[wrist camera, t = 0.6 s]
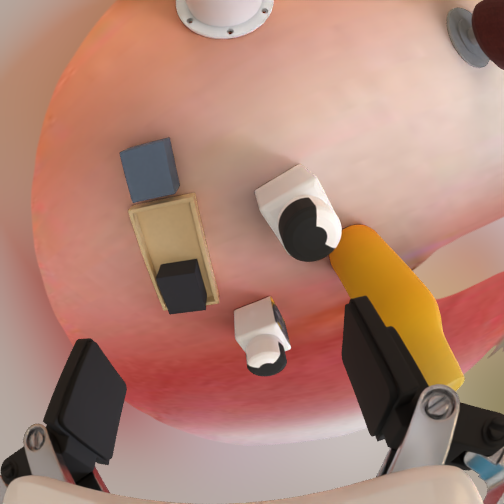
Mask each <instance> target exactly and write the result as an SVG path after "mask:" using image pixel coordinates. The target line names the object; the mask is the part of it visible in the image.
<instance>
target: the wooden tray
mask: <svg viewBox="0 0 504 504" xmlns="http://www.w3.org/2000/svg"><path fill="white" fill-rule="evenodd" d="M128 213H129V216H130V219H131V222H132V226H133V229H134V232H135V235H136V238H137V241H138V244H139V247H140V250H141V252H142V255H143V258H144V261H145V264H146V266H147V269H148V272H149V275H150V277H151V280H152V283H153V285H154V288H155V290H156V293H157V295H158V298H159V300H160V303H161V305H162V308H163V310H168V309H167V307H166V304H165V302H164V299H163V296H162V294H161V291H160V289H159V286H158V283H157V281H156V276H157V274H158V271H159V268H160V265H161V264H166V263H172V262H179V261H185V260H191V259H197V260H198V264H199V267H200V271H201V275H202V278H203V282H204V285H205V289H206V292H207V301H206V305H212V304H219V292H218V288H217V284H216V280H215V277H214V273H213V269H212V264H211V260H210V256H209V252H208V248H207V244H206V240H205V235H204V231H203V227H202V222H201V218H200V214H199V209H198V205H197V200H196V196H195V193H190V194H184V195H179V196H174V197H169V198H165V199H160V200H155V201H151V202H146V203H142V204H137V205H133V206H132V207H131V208H130V209H129V210H128Z"/></svg>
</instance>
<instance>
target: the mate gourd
mask: <svg viewBox="0 0 504 504" xmlns="http://www.w3.org/2000/svg"><path fill="white" fill-rule="evenodd" d="M447 30H448V33H449V36H450V39H451V41H452V43H453V45H454V47H455V49H456V51H457V52H458V54H459V55H460V56H461V57H462V58H463V59H464V60H465V61H466V62H467V63H468V64H469V65H471V66H473V67H477V68H481V67H484V66H486V65H487V64H488V62H489V60H491V61H493V62H494V63H495V64H496V65H497V66H498V67H499V68H501V69H503V70H504V0H483V1H481V2H479V3H478V4H477V5H476V6H475V8H474V11H473V14H471V13H470V12H469V11H467V10H465V9H463V8H454V9H452V10H450V11H449V13H448V15H447Z"/></svg>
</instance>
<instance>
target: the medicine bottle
mask: <svg viewBox="0 0 504 504" xmlns="http://www.w3.org/2000/svg"><path fill="white" fill-rule="evenodd" d="M234 325H235V339H236V341H237V342H238V343H239V345H240V346H241V347H242V349H243V350H244V351H245V352H246V358H247V368H248V370H249V371H250V372H252V373H253V374H255V375H258V376H271V375H275V374H277V373H279V372H280V371H282V370H283V369H284V367H285V366H286V364H287V359H286V355H285V351H287V350H290V349H291V346H290V341H289V337H288V333H287V329H286V325H285V321H284V319H283V318H282V316H281V314H280V312H279V310H278V308H277V306H276V305H275V303H274V301H273V299H272V297H270V296H269V297H267V298H264V299H262V300H259V301H257V302H254V303H252V304H249V305H247V306H244V307H241V308H239V309H236V310H234Z"/></svg>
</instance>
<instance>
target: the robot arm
mask: <svg viewBox="0 0 504 504" xmlns="http://www.w3.org/2000/svg"><path fill="white" fill-rule="evenodd" d="M273 3H274V0H176V9H177V13H178V15H179V17H180V19H181V21H182V22H183V23H184V25H185V26H187V27H188V28H189V29H190V30H192V31H193V32H195V33H197V34H199V35H202V36H205V37H209V38H214V39H229V38H236V37H240V36H243V35H246V34H248V33H251V32H252V31H254V30H255V29H257V28H259V27H260V26H261V25H262V24H263V23H264V22H265V21H266V19H267V18H268V17H269V15H270V13H271V11H272V8H273ZM263 11H264V12H266V13H262V12H263ZM190 21H192V23H189V22H190ZM229 32H232V34H228V33H229ZM342 360H343V363H344V366H345V368H346V371H347V374H348V376H349V379H350V381H351V384H352V387H353V389H354V392H355V395H356V397H357V400H358V403H359V406H360V408H361V411H362V414H363V417H364V419H365V422H366V425H367V428H368V431H369V433H370V435H371V436H376V439H377V441H380V440H383V439H385V440H386V443H387V445H388V447H390V449H389V451H388V453H387V455H386V457H385V459H384V462H383V464H382V466H381V468H380V470H379V472H378V474H377V476H376V478H373V479H369V480H366V481H362V482H358V483H355V484H352V485H348V486H344V487H340V488H336V489H332V490H328V491H323V492H319V493H313V494H308V495H303V496H298V497H292V498H286V499H278V500H270V501H261V502H250V503H232V504H504V415H503V414H501V413H497V412H493V411H490V410H486V409H481V408H478V407H474V406H471V405H467V404H464V403H460V400H459V397H458V395H457V393H456V392H455V390H453V389H452V388H451V387H449V386H446V385H443V384H436V385H431V386H429V385H428V384H427V382H426V380H425V378H424V376H423V375H422V373H421V371H420V369H419V367H418V366H417V364H416V362H415V361H414V359H413V357H412V355H411V354H410V352H409V350H408V349H407V347H406V345H405V344H404V342H403V340H402V339H401V337H400V335H399V334H398V332H397V331H396V329H395V328H394V327H392V326H389V327H386V326H385V324H384V322H383V321H382V319H381V317H380V316H379V314H378V313H377V311H376V309H375V308H374V306H373V305H372V303H371V301H370V300H369V298H368V297H367V296H361V297H357V298H353V299H350V302H349V304H346V305H345V316H344V331H343V344H342ZM126 390H127V387H126V384H125V382H124V381H123V379H122V378H121V377H120V375H119V374H118V373H117V371H116V370H115V369H114V367H113V366H112V364H111V363H110V362H109V360H108V359H107V357H106V356H105V355H104V353H103V352H102V350H101V349H100V347H99V346H98V344H97V343H96V342H94V341H93V340H92V339H78V340H77V341H76V343H75V345H74V347H73V349H72V351H71V354H70V356H69V358H68V360H67V362H66V365H65V367H64V369H63V372H62V374H61V376H60V378H59V381H58V383H57V386H56V388H55V391H54V393H53V396H52V398H51V401H50V403H49V406H48V409H47V411H46V414H45V417H44V420H43V422H44V423H45V424H47V426H46V427H45V426H43V425H42V424H34V425H31V426H30V427H29V428H28V429H27V431H26V432H25V435H24V439H23V442H24V447H23V448H21V449H20V450H18V451H17V452H15V453H14V454H12V455H11V456H9V457H8V458H7V459H5V460H4V462H3V464H2V466H1V475H0V504H189V503H174V502H162V501H153V500H145V499H137V498H131V497H126V496H120V495H115V494H110V492H109V490H108V489H107V487H106V485H105V484H104V482H103V481H102V478H101V477H100V475H99V473H98V471H97V469H96V468H95V462H97V463H99V464H105V465H108V464H109V460H110V459H111V458H112V456H113V451H114V446H115V440H116V435H117V430H118V426H119V421H120V416H121V412H122V407H123V403H124V399H125V395H126ZM463 470H473V471H475V472H476V473H478V474H479V476H478V477H480V478H481V479H482V480H484V481H485V483H486V484H487V488H488V489H487V495H486V497H485V499H484V501H482V499H481V497H480V494H479V492H478V490H477V488H476V486H475V484H474V483H473V481H472V480H471V478H470V477H469V476H468V474H467V473H466V472H465V471H463ZM190 504H191V503H190Z"/></svg>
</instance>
